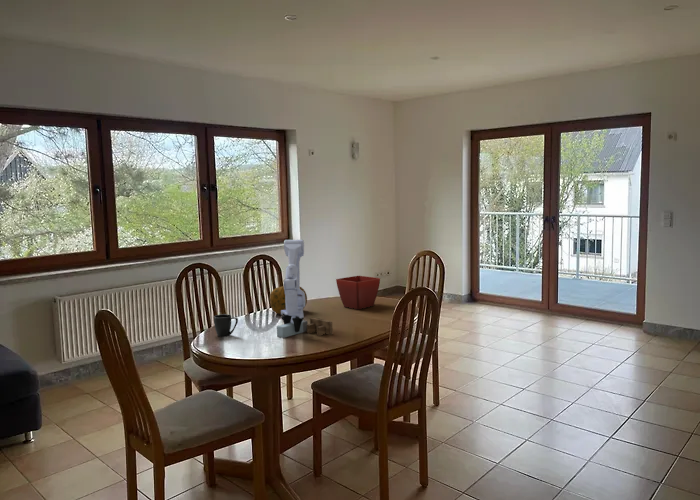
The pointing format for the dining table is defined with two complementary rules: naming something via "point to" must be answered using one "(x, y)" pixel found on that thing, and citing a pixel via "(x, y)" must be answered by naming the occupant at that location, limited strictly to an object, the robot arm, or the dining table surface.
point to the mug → (223, 324)
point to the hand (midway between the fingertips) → (292, 330)
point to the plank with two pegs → (319, 326)
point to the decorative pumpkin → (280, 299)
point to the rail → (290, 329)
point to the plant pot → (358, 291)
